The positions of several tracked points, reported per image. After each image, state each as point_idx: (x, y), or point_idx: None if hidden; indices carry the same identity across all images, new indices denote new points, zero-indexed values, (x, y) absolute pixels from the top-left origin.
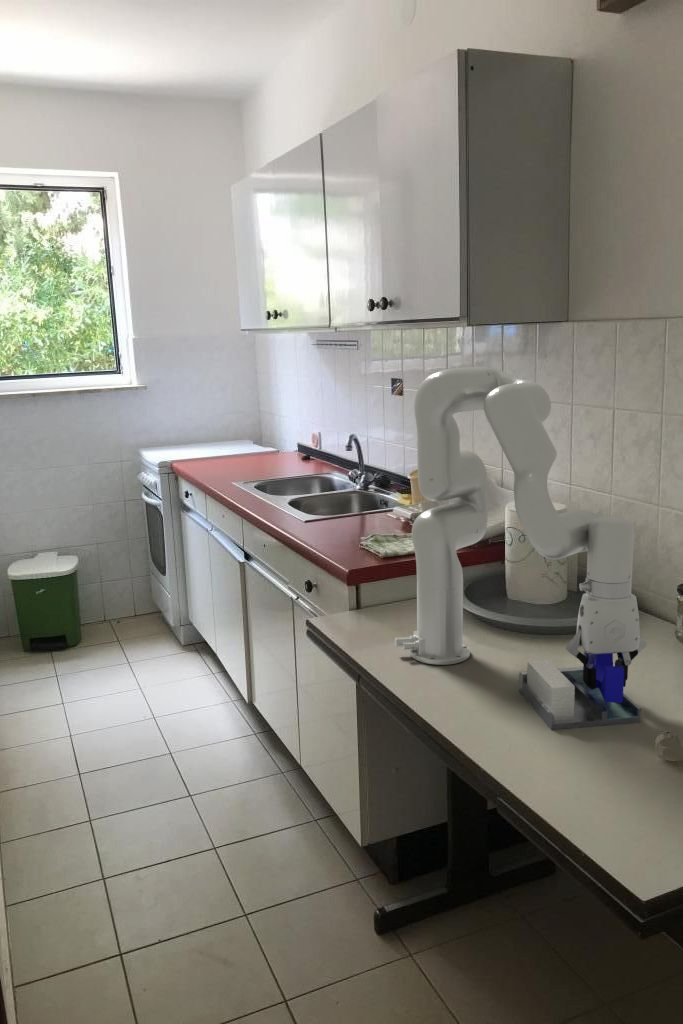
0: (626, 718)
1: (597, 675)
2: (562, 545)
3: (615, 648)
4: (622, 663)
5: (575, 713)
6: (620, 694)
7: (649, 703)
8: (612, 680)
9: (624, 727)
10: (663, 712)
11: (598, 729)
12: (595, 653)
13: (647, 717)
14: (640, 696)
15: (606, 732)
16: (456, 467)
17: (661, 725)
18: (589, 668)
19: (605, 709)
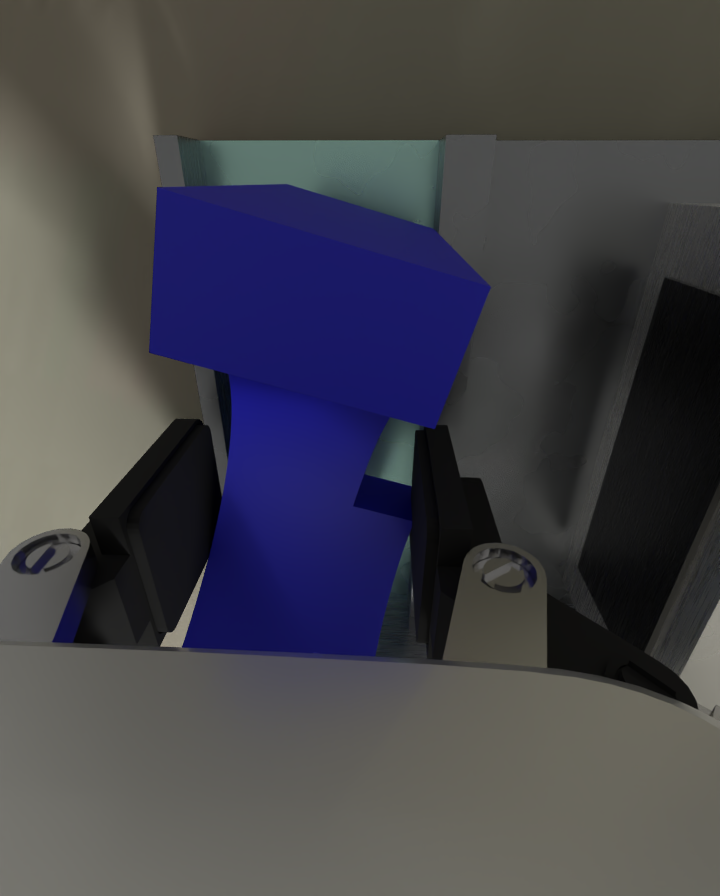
0: (288, 141)
1: (339, 558)
2: None
3: (114, 730)
4: (115, 565)
5: (597, 288)
6: (296, 191)
7: (73, 388)
8: (373, 231)
9: (332, 77)
10: (13, 262)
11: (529, 80)
12: (570, 676)
13: (127, 211)
14: (103, 469)
15: (501, 9)
16: None
17: (60, 57)
18: (503, 545)
19: (442, 180)
